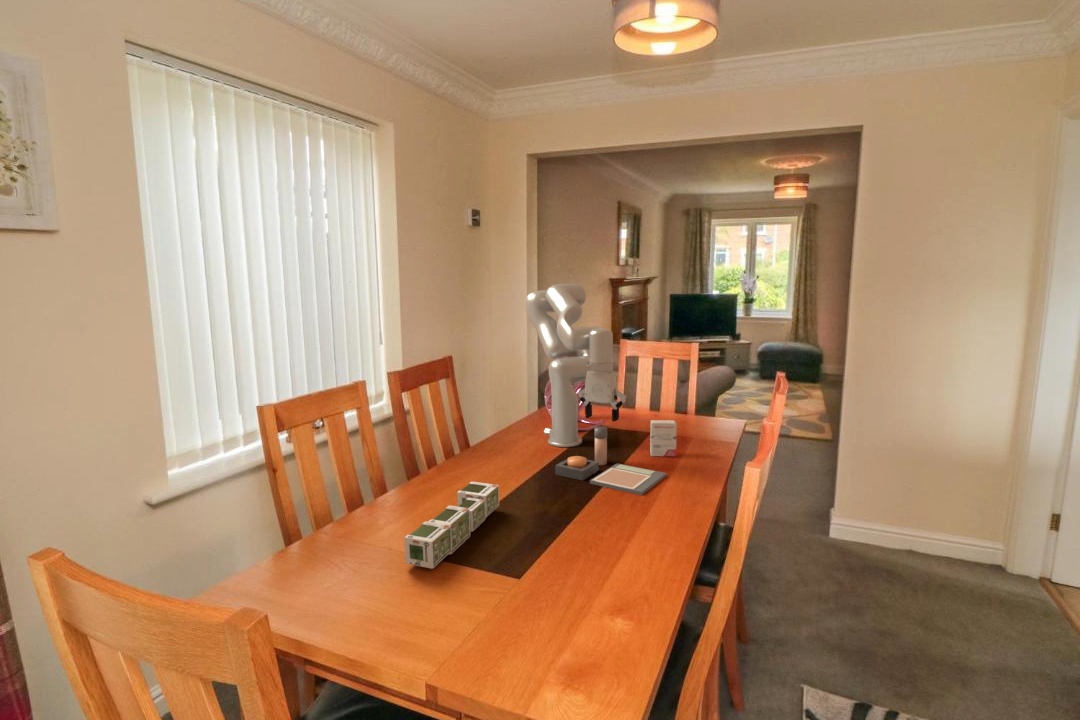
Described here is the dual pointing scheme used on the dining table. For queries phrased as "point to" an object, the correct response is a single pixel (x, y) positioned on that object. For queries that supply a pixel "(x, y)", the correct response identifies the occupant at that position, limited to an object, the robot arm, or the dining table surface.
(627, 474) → the picture board
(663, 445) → the ink box
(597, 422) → the spiral basket
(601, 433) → the marker
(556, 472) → the button housing
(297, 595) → the dining table surface
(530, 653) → the dining table surface
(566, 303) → the robot arm
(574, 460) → the button
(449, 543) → the row of white-green cartons
